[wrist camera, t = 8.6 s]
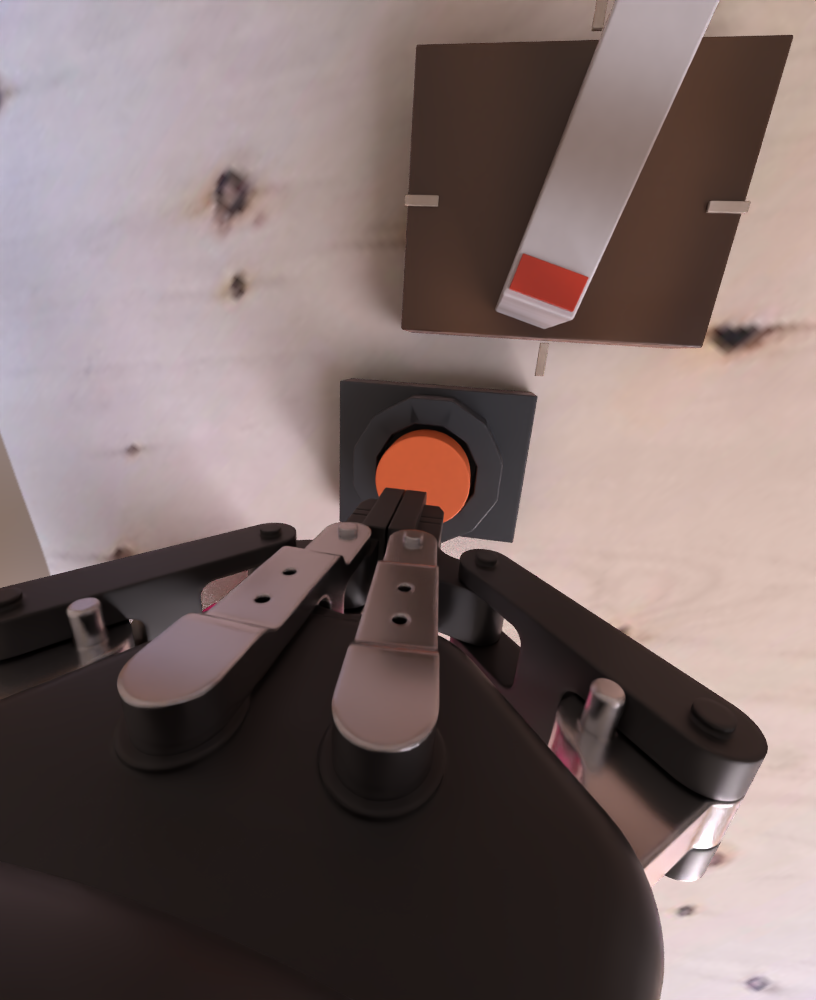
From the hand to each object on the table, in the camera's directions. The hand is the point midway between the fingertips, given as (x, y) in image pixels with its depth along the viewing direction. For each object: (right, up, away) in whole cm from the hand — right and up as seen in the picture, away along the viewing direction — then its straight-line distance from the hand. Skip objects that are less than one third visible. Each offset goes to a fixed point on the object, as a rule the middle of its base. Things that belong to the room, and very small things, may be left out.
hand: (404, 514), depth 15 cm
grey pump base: (+2, +3, +9) cm, 10 cm away
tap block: (+7, +13, +4) cm, 16 cm away
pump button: (+1, +2, +6) cm, 6 cm away
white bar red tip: (+6, +12, +2) cm, 14 cm away
